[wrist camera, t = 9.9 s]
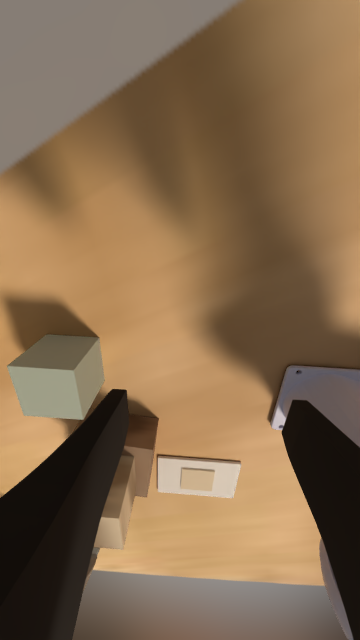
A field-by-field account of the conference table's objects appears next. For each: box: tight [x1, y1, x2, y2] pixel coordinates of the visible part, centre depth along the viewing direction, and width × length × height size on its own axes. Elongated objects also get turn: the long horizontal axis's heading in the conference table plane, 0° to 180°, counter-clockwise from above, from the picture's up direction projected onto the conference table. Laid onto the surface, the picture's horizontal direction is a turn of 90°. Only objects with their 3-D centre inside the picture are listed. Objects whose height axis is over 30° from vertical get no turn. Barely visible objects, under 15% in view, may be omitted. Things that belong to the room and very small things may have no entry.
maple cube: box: [94, 455, 137, 550], centre depth 21 cm, size 5×5×5 cm
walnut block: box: [74, 408, 159, 497], centre depth 25 cm, size 8×8×4 cm
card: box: [158, 456, 241, 498], centre depth 28 cm, size 10×7×1 cm
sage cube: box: [7, 334, 105, 420], centre depth 20 cm, size 5×5×5 cm
